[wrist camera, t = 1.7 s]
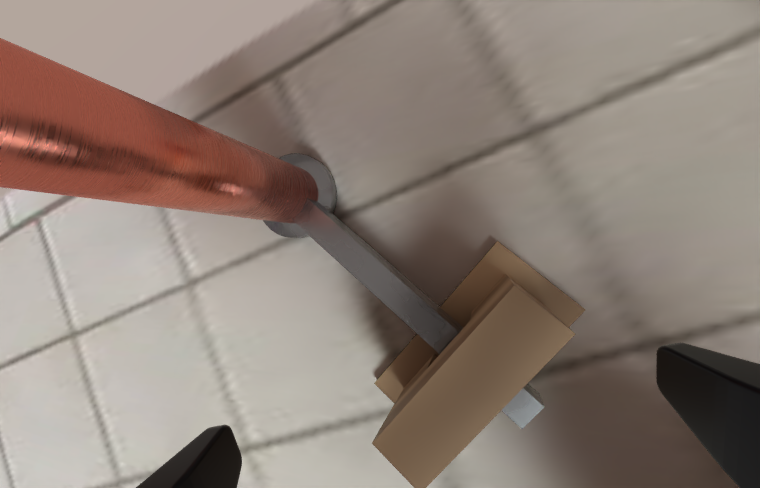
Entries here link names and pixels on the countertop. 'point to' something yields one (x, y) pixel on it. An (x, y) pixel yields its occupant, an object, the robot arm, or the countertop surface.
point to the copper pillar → (188, 177)
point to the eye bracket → (472, 364)
